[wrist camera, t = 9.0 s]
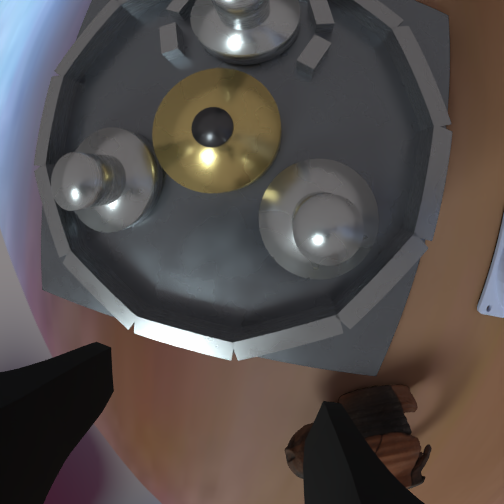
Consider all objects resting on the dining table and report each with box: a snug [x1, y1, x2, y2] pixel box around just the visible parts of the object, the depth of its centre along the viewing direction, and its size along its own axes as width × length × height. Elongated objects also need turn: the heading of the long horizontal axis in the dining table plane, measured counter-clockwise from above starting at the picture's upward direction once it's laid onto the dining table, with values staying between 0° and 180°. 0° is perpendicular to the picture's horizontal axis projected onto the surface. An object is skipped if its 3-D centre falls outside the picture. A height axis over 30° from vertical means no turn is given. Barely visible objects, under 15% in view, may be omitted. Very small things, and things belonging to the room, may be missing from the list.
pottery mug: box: [285, 385, 431, 489], centre depth 18 cm, size 12×10×8 cm
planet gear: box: [190, 0, 300, 65], centre depth 12 cm, size 6×6×5 cm
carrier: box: [34, 0, 452, 376], centre depth 14 cm, size 25×25×6 cm
